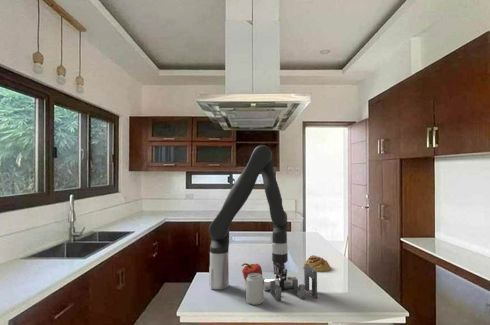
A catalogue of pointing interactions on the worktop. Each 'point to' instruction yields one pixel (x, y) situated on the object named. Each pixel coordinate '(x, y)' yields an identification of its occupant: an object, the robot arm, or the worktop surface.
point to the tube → (278, 283)
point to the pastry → (318, 264)
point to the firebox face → (313, 274)
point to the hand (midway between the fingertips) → (280, 286)
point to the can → (254, 288)
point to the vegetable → (251, 269)
